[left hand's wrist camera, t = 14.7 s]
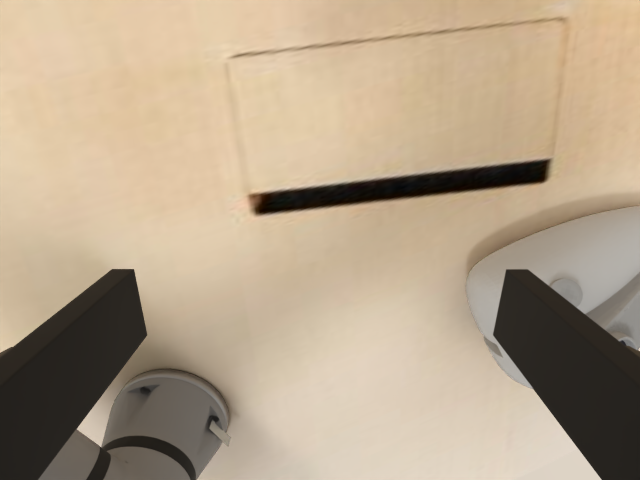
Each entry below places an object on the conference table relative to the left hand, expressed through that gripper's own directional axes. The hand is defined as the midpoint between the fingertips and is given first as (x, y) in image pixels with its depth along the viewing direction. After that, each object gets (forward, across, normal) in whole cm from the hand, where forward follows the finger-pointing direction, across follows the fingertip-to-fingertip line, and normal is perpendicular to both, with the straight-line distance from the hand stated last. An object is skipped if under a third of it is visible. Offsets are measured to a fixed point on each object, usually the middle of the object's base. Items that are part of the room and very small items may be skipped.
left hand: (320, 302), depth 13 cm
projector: (+27, -28, +12) cm, 40 cm away
